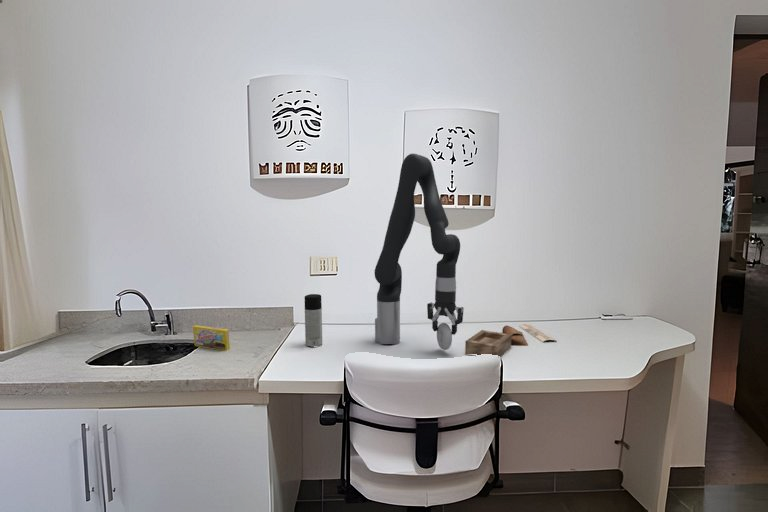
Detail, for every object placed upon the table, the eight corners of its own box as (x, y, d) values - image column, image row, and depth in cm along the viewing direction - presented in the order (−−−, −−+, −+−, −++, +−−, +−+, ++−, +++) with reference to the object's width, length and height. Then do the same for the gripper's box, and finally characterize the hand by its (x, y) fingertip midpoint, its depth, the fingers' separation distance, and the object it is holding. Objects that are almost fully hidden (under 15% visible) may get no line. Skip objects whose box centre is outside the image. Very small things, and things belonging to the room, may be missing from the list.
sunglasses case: (530, 346, 175) (521, 331, 175) (513, 354, 176) (505, 340, 176) (522, 332, 193) (514, 319, 193) (507, 340, 194) (499, 327, 194)
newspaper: (556, 343, 181) (556, 339, 180) (540, 344, 180) (540, 340, 180) (531, 327, 204) (531, 323, 204) (516, 328, 203) (516, 324, 203)
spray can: (325, 343, 180) (324, 294, 177) (316, 348, 173) (315, 297, 171) (311, 341, 182) (310, 293, 180) (302, 346, 176) (300, 296, 174)
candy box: (193, 346, 177) (192, 326, 176) (197, 345, 179) (196, 324, 178) (226, 351, 171) (225, 330, 170) (230, 349, 173) (229, 328, 172)
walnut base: (465, 354, 166) (465, 341, 166) (481, 342, 181) (481, 329, 180) (496, 360, 160) (497, 346, 159) (511, 347, 174) (511, 334, 174)
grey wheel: (453, 353, 164) (453, 326, 162) (444, 354, 163) (444, 327, 161) (443, 344, 173) (444, 319, 172) (435, 345, 172) (435, 319, 171)
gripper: (423, 288, 166) (422, 331, 168) (459, 292, 158) (458, 338, 160) (432, 285, 172) (431, 327, 174) (467, 289, 164) (466, 333, 166)
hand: (444, 332), depth 167 cm, fingers closed on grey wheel, 7 cm apart
